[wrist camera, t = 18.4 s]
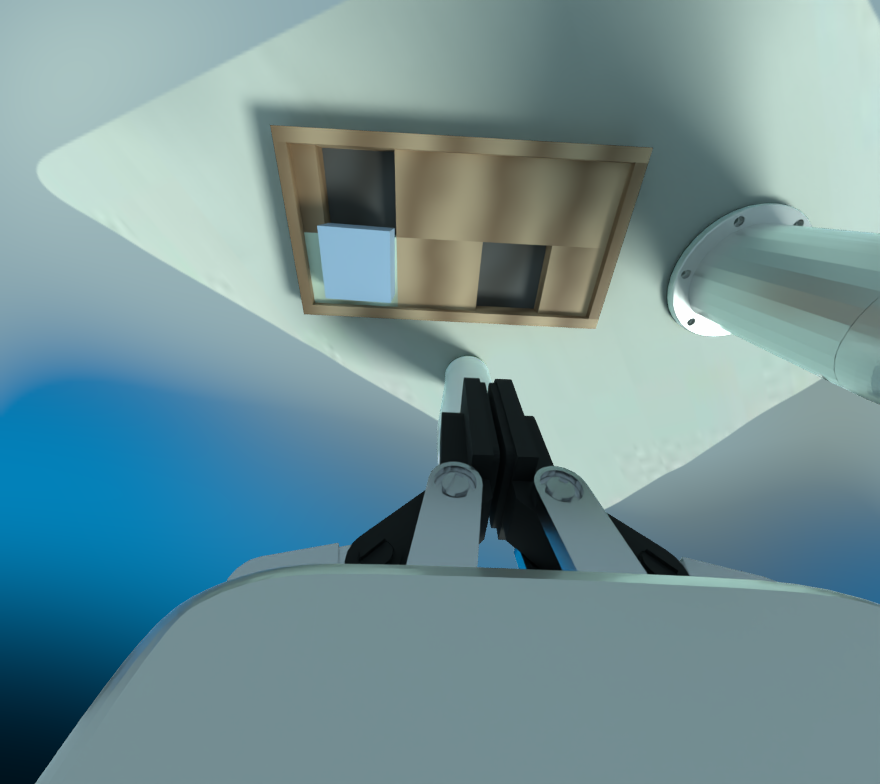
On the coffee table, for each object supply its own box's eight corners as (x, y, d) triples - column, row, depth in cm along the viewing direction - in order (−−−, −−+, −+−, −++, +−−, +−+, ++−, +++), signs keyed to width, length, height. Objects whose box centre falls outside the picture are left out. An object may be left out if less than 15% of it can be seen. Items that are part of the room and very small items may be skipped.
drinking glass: (436, 351, 38) (431, 431, 25) (493, 345, 37) (519, 424, 25) (442, 399, 41) (441, 490, 29) (495, 394, 41) (517, 485, 28)
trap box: (635, 151, 28) (653, 147, 25) (585, 319, 36) (595, 328, 33) (285, 131, 27) (270, 125, 25) (313, 305, 35) (304, 314, 33)
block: (394, 228, 29) (389, 231, 27) (394, 294, 32) (390, 303, 30) (328, 222, 29) (317, 225, 27) (335, 289, 32) (325, 298, 30)
